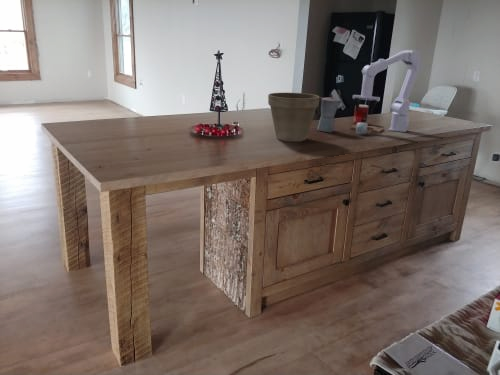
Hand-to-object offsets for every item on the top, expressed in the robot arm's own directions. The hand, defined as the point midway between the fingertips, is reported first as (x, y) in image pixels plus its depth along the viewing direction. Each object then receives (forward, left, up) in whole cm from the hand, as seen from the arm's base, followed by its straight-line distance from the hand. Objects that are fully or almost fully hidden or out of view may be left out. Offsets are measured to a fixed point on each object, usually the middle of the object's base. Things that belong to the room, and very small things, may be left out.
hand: (364, 113), depth 249 cm
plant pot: (+24, +46, -10) cm, 52 cm away
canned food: (+7, -21, -10) cm, 25 cm away
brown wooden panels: (-2, -5, -10) cm, 11 cm away
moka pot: (+17, +15, -10) cm, 25 cm away
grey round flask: (-1, +9, -10) cm, 14 cm away
